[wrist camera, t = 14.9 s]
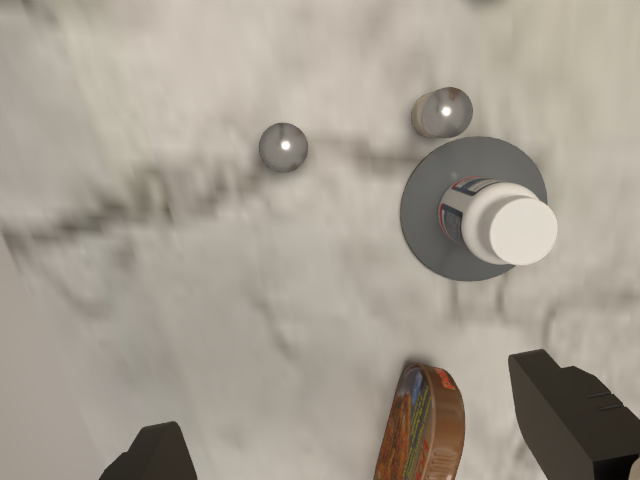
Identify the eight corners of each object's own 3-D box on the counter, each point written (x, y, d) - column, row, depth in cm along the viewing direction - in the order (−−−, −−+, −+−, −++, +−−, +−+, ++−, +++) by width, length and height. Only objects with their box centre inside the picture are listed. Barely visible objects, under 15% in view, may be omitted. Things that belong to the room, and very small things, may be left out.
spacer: (404, 127, 35) (415, 126, 31) (422, 85, 35) (436, 79, 31) (442, 144, 36) (459, 145, 32) (461, 103, 35) (481, 99, 31)
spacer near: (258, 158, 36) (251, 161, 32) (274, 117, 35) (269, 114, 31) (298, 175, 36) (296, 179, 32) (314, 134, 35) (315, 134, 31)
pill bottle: (482, 256, 37) (535, 293, 28) (424, 224, 36) (460, 252, 28) (520, 196, 36) (587, 215, 27) (461, 162, 35) (510, 170, 27)
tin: (407, 344, 39) (434, 400, 31) (445, 351, 39) (481, 408, 31) (366, 501, 42) (380, 589, 34) (401, 506, 42) (423, 596, 34)
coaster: (377, 248, 37) (378, 250, 37) (438, 113, 35) (440, 112, 35) (503, 299, 38) (506, 301, 38) (569, 170, 36) (573, 171, 36)
